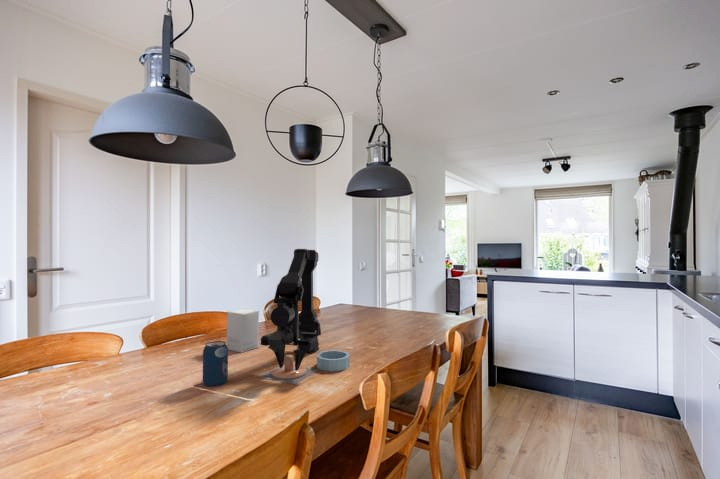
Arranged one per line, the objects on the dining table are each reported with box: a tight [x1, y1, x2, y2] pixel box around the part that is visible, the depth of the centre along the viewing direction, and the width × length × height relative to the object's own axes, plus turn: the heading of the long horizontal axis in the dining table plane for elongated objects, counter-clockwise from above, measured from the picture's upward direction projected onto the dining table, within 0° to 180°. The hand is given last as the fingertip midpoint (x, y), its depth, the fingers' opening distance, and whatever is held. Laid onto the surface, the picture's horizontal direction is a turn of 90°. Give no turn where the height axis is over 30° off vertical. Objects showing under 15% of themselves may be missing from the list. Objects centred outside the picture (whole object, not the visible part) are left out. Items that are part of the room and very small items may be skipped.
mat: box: [257, 363, 320, 385], centre depth 118 cm, size 14×14×1 cm
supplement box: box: [226, 308, 260, 353], centre depth 148 cm, size 9×9×15 cm
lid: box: [271, 354, 307, 380], centre depth 119 cm, size 11×11×6 cm
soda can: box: [202, 340, 229, 387], centre depth 110 cm, size 7×7×12 cm
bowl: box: [316, 349, 351, 372], centre depth 127 cm, size 11×11×4 cm
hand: (288, 368), depth 119 cm, fingers open, 6 cm apart
